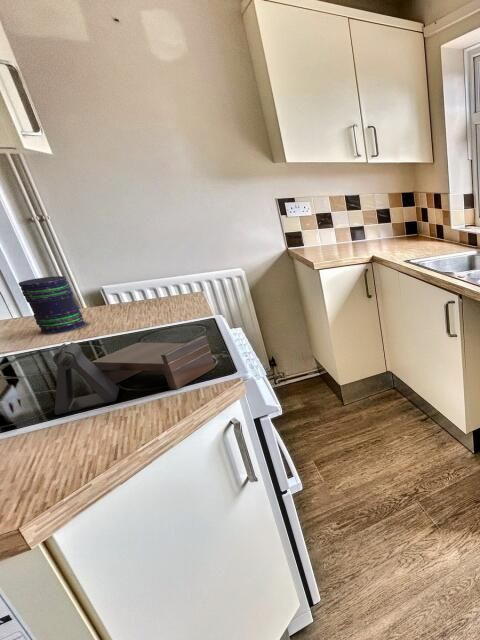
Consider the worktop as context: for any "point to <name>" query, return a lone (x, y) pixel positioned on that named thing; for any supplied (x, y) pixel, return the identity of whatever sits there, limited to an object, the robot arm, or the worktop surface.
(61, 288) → the blue green striped cylinder
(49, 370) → the worktop surface
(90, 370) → the phone stand
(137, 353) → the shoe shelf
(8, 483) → the worktop surface
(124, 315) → the worktop surface
